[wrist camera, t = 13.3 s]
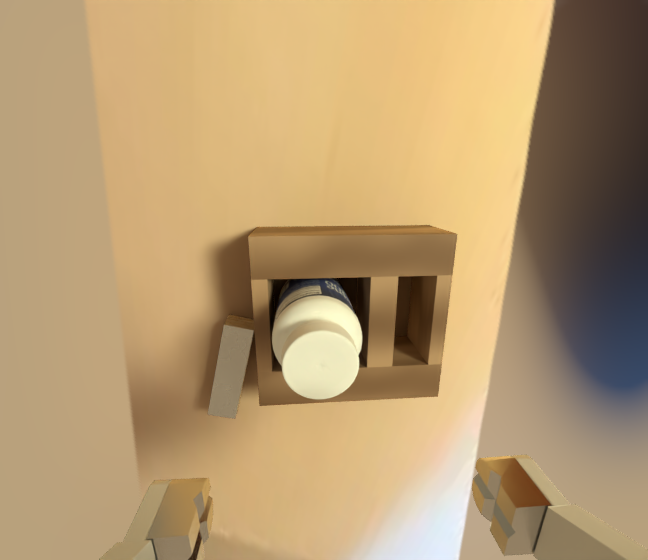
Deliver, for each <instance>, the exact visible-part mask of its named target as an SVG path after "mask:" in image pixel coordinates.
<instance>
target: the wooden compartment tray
mask: <svg viewBox="0 0 648 560" xmlns="http://www.w3.org/2000/svg"><path fill="white" fill-rule="evenodd" d="M456 240H457V234H455V233H452V232H449V231H446V230H442V229H439V228H436V227H433V226H430V225H414V226H315V227H257V228H256V229H255V230H254V231H253V232H252V233H251V234H250V235H249V236H248V243H249V257H250V272H251V287H252V301H253V316H254V331H255V345H256V360H257V375H258V389H259V404H260V406H266V405H285V404H304V403H323V402H342V401H360V400H379V399H398V398H417V397H436V396H438V391H439V382H440V374H441V365H442V357H443V349H444V340H445V332H446V324H447V315H448V307H449V299H450V290H451V282H452V274H453V265H454V257H455V249H456ZM399 276H412V284H411V296H410V309H409V321H408V333H407V336H397V337H394V334H395V320H396V306H397V291H398V277H399ZM353 277H358V285H357V318H358V321H359V323H360V327H361V331H362V346H361V350H360V353H359V356H358V357H359V370H358V374H357V376H356V378H355V380H354V382H353V383H352V384H351V386H350V387H349V388H347V389H346V390H345V391H344V392H343V393H341V394H339V395H337V396H335V397H332V398H327V399H310V398H306V397H303V396H301V395H299V394H297V393H296V392H294V391H293V390H292V389H291V388H290V387H289V386H288V384H287V383H286V381H285V379H284V376H283V373H282V366H281V365H280V363H279V362H278V360H277V358H276V356H275V353H274V350H273V345H272V332H273V327H274V321H275V305H274V284H273V279H309V278H353Z"/></svg>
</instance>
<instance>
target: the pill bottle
mask: <svg viewBox="0 0 648 560" xmlns="http://www.w3.org/2000/svg"><path fill="white" fill-rule="evenodd" d="M272 345H273V350H274V353H275V356H276V358H277V360H278V362H279V363H280V365H281V366H282V373H283V376H284V379H285V381H286V383H287V384H288V386H289V387H290V388H291V389H292V390H293V391H294V392H296V393H297V394H299V395H301V396H303V397H306V398H310V399H327V398H332V397H335V396H337V395H339V394H341V393H343V392H344V391H345V390H346V389H347V388H349V387H350V386H351V384H352V383H353V382H354V380H355V378H356V376H357V374H358V370H359V357H358V356H359V353H360V350H361V346H362V331H361V327H360V323H359V321H358V318H357V316H356V314H355V312H354V310H353V308H352V305H351V303H350V301H349V299H348V297H347V294H346V292H345V290H344V289H343V287H342V285H341V284H340V283H339V281H338V280H337V279H336V278H309V279H289V280H288V281H287V282H286V283H285V285H284V286H283V288H282V290H281V292H280V295H279V300H278V304H277V310H276V316H275V321H274V327H273V332H272Z"/></svg>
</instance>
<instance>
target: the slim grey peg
mask: <svg viewBox="0 0 648 560" xmlns="http://www.w3.org/2000/svg"><path fill="white" fill-rule="evenodd" d="M254 332H255V331H254V319H250V318H245V317H240V316H234V315H229V316H228V318H227V320H226V322H225V324H224V327H223V332H222V338H221V343H220V349H219V354H218V360H217V365H216V371H215V376H214V382H213V387H212V393H211V398H210V404H209V410H208V415H214V416H220V417H227V418H234V419H235V418H236V414H237V410H238V407H239V403H240V398H241V393H242V389H243V384H244V379H245V374H246V370H247V365H248V360H249V355H250V351H251V346H252V341H253V336H254Z"/></svg>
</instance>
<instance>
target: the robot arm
mask: <svg viewBox="0 0 648 560" xmlns="http://www.w3.org/2000/svg"><path fill="white" fill-rule="evenodd" d="M475 468H476V470H477V471H478V474H477V475H476V476H475V477H474V478H473V483H472V491H473V496H474V500H475V502H476V505H477V507H478V509H479V511H480V513H481V514H482V515H483V516H484V517H485V518H486V519H488V520H489V521H490V522H491V523H490V531H491V533H492V535H493V537H494V538H495V540H496V542H497V544H498V546H499V548H500V549H501V551H502V553H503V555H504V556H505V555H522V554H534V557H535V558H536V559H538V560H648V549H647V548H645V547H644V546H642V545H640V544H639V543H637V542H636V541H634V540H632V539H631V538H629V537H627V536H626V535H624V534H623V533H621V532H619V531H618V530H616V529H615V528H613V527H611V526H610V525H608V524H607V523H605V522H603V521H601V520H600V519H599V518H597V517H595V516H593V515H592V514H590V513H589V512H587V511H586V510H584V509H582V508H581V507H579V506H578V505H576V504H570V503H569V502H568V501H567V500H566V498H565V497H564V496H563V495H562V494H561V492H560V491H559V490H558V489H557V488H556V487H555V485H554V484H553V483H552V482H551V481H550V479H549V478H548V477H547V476H546V475H545V473H544V472H543V471H542V470H541V469H540V467H539V466H538V465H537V464H536V463H535V462H534V460H533V459H532V458H531V457H529V456H528V455H517V456H516V455H515V456H499V457H487V458H479V459H478V460H477V462H476V467H475ZM210 488H211V485H210V480H209V478H192V479H172V480H154V482H153V483H152V484H151V485H150V486H149V488H148V490H147V492H146V494H145V497H144V499H143V501H142V503H141V505H140V507H139V509H138V511H137V513H136V516H135V518H134V520H133V522H132V524H131V526H130V528H129V530H128V532H127V534H126V536H125V538H124V541H123V542H119V543H116V544H115V545H114V546H113V547H112V548H111V549H110V550H109V551H107V552H106V553H105V554H104V555H103V556H102V557H101V558H100V559H99V560H204V556H205V554H204V548H203V544H204V543H205V542H206V540H207V539H208V538H209V536H210V531H211V527H212V520H213V499H212V498H211V497H210V496H209V491H210Z"/></svg>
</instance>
